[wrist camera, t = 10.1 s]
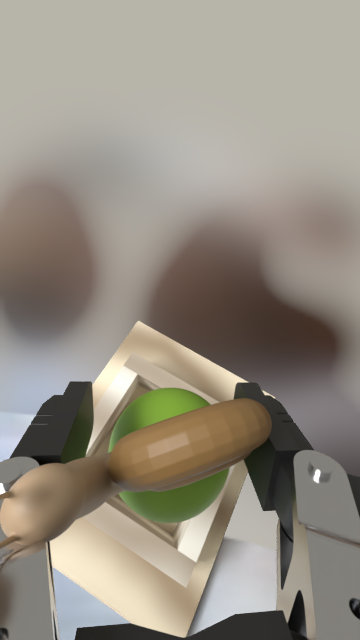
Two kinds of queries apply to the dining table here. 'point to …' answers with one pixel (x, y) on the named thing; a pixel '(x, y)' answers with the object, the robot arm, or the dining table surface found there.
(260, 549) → the dining table surface
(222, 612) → the dining table surface
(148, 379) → the wooden box tray
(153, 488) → the snail figurine
